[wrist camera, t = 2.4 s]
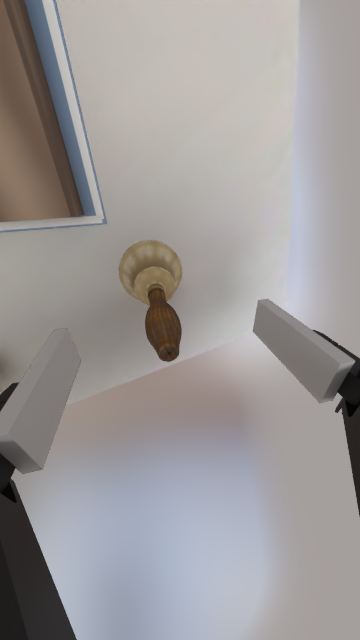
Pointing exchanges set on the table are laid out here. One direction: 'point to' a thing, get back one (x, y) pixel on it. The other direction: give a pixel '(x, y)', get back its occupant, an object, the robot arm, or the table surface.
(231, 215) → the table surface
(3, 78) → the walnut plinth
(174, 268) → the hand bell
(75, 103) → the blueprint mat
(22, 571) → the robot arm
